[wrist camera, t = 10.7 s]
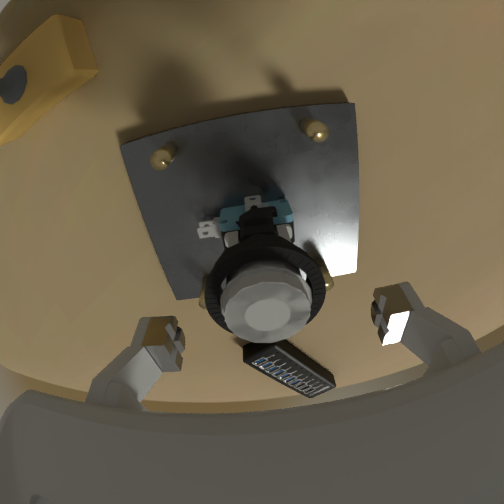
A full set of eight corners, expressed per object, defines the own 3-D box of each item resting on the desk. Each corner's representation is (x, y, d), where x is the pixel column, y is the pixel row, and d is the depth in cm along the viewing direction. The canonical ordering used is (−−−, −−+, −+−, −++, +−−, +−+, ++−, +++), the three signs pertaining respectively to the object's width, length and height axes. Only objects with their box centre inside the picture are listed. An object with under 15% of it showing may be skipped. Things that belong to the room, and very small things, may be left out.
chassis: (349, 102, 16) (370, 106, 13) (352, 265, 24) (365, 290, 21) (124, 143, 17) (104, 154, 14) (178, 292, 25) (172, 320, 22)
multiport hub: (272, 327, 28) (274, 344, 26) (333, 373, 35) (337, 386, 33) (240, 344, 30) (241, 361, 28) (307, 385, 36) (310, 399, 34)
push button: (208, 253, 21) (192, 361, 13) (192, 188, 18) (152, 276, 10) (295, 241, 21) (328, 345, 12) (289, 173, 18) (334, 251, 10)
